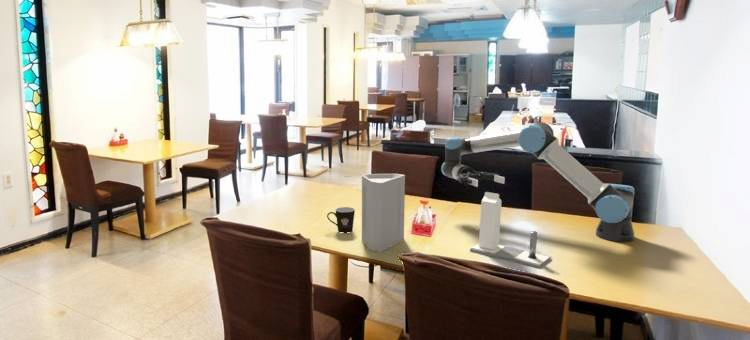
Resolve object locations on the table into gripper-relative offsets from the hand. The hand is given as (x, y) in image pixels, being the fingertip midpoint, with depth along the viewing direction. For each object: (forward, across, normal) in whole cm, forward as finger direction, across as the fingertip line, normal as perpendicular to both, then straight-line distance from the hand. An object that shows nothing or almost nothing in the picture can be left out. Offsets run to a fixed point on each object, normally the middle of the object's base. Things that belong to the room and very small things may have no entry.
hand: (490, 182), depth 212 cm
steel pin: (+30, +1, -23) cm, 38 cm away
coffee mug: (-31, +57, -23) cm, 69 cm away
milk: (+14, +10, -23) cm, 29 cm away
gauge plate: (+22, +6, -24) cm, 33 cm away
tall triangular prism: (-11, +48, -24) cm, 55 cm away
